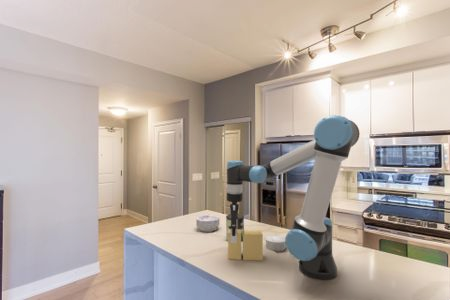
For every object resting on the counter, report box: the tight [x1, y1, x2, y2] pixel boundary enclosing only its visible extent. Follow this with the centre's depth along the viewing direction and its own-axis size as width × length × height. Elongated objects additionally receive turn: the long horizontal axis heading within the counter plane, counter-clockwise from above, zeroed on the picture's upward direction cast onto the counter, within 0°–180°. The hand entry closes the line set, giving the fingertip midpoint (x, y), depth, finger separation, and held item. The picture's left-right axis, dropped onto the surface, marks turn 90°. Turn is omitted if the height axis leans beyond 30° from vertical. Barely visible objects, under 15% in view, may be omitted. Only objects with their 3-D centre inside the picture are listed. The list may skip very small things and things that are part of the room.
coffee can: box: [225, 213, 245, 243], centre depth 133 cm, size 10×10×14 cm
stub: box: [227, 229, 242, 260], centre depth 111 cm, size 6×6×12 cm
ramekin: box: [264, 234, 287, 253], centre depth 123 cm, size 11×11×5 cm
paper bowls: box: [195, 214, 220, 233], centre depth 153 cm, size 15×15×8 cm
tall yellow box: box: [242, 229, 264, 261], centre depth 110 cm, size 9×6×12 cm, turn 86°
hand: (234, 237), depth 111 cm, fingers open, 13 cm apart
